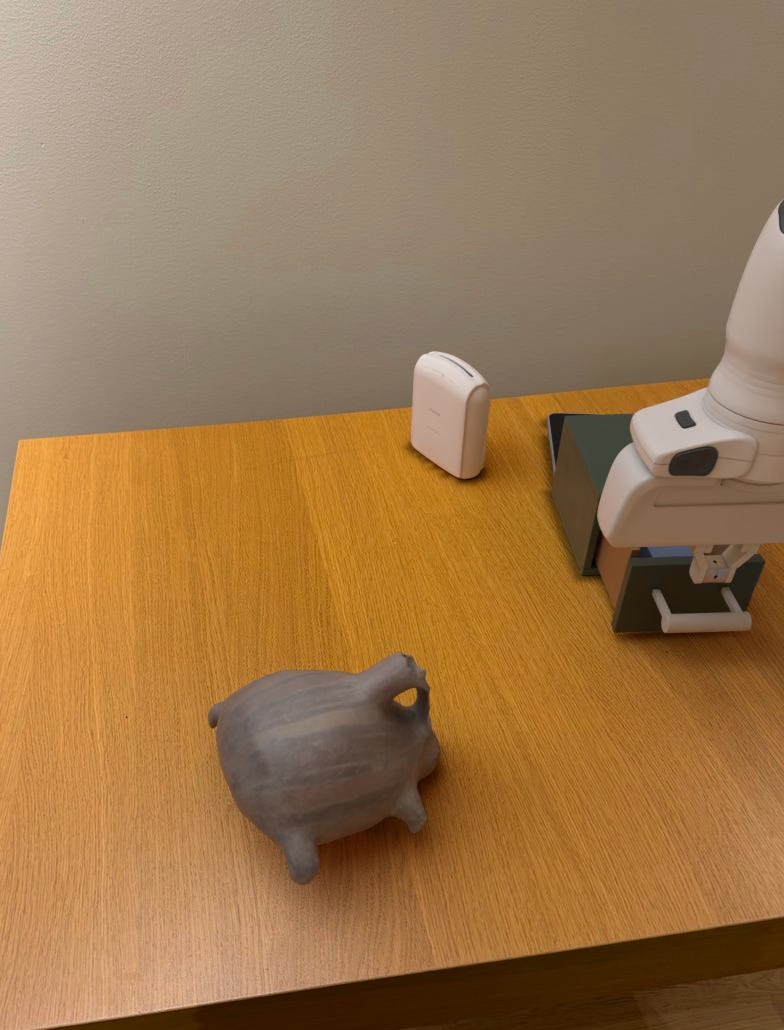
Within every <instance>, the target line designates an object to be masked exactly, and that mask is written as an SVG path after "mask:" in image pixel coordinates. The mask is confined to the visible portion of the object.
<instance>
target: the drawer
mask: <svg viewBox="0 0 784 1030" xmlns="http://www.w3.org/2000/svg"><path fill="white" fill-rule="evenodd" d="M729 546H730V545H714V546H713V549H712V552H711V553H705V552H704V555H721V554H722V553H723V552H724V551H725V550H726V549H727V548H728V547H729ZM639 554H640V547H627V548H615V547H613V546H612V545H611V544H610V543H609V542H608V541H607V539H606V538H605V537H604V535H603V533H602V531H601V529H600V531H599V535H598V540H597V544H596V548H595V552H594V559H595V562H596V565H597V567H598V570H599V572H600V575H599V576H600V577H601V580H602V582H603V584H604V587H605V590H606V592H607V595H608V597H609V599H610V603H611V605H612V608H613V610H614V611H613V615H612V619H611V623H610V626H611V629H612V632H613V633H614V634H618V633H620V634H622V633H624V634H625V633H652V632H653V633H654V632H655V633H656V632H663V633H664V634H682V633H686V634H687V633H713V632H747V631H749V630H751V628H752V625H753V618H752V615H751V613H750V612H749V611H747V610H748V607H749V605H750V602H751V599H752V597H753V594H754V592H755V590H756V587H757V584H758V582H759V580H760V577H761V574H762V572H763V569H764V567H765V564H766V561H765V558H764V557H763V555H762V553H756V554H754V555H753V556H752V557H751V558H750V559H748V560H747V561H746V562H745V563H743V564H742V565H741V566H740V567H739V568H736V571H735V574H734V576H733V579H732V581H731V582H730V583H696V584H695V583H694V582H693V580H692V578H691V576H690V572H689V571H690V566H691V563H692V560H693V556H674V557H644V558H638V557H639Z"/></svg>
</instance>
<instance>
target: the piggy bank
mask: <svg viewBox="0 0 784 1030" xmlns="http://www.w3.org/2000/svg"><path fill="white" fill-rule="evenodd" d="M426 675H427V670H426V669H425V668H423V667H420V666H419V665H418V664H417V662H416V660H415V659H414V656H413V655H412V654H406V653H402V652H401V651H396V652H394V653H392V654H390V655H388V656H387V657H385V658H382V659H381V660H380V661H378V662H376V663H374V664H373V665H372V666H370V667H368V668H366V669H365V670H362V671H360V672H356V673H352V672H347V671H340V670H327V669H286V670H280V671H276V672H275V671H274V672H272V673H269V674H267V675H264V676H262V677H260V678H256V679H254V680H253V681H250V682H249V683H247V684H246V685H244V686H242V687H240V688H239V689H237V690H236V691H234V692H233V693H231V694H230V695H229V696H228V697H227V698H226V699H225V700H223V701H219V702H217V703H216V704H214V705H212V706H211V708H210V709H209V711H208V714H207V722H208V725H209V728H210V729H212V730H214V729H215V728H216V730H215V740H216V741H215V742H216V748H217V754H218V761H219V766H220V769H221V771H222V774H223V778H224V780H225V782H226V785H227V786H228V787H227V788H228V790H229V791H230V794H231V796H232V798H233V801H234V803H235V805H236V807H237V809H238V811H239V812H240V813H241V815H242V816H243V817H244V818H246V819H247V820H248V821H249V822H250V823H251V824H252V825H253V826H254V827H255V828H257V829H258V830H259V831H260V832H261V833H262V834H263V835H264V836H266V837H267V838H268V839H269V840H271V841H272V842H273V843H275V844H276V846H278V847H279V848H280V850H281V851H282V854H283V856H284V859H285V862H286V866H287V869H288V872H289V875H290V879H291V881H292V882H293V883H295V884H298V885H300V886H307V885H310V884H311V883H312V882H313V881H314V880H315V878H317V877H318V876H319V874H320V869H321V867H320V866H321V861H320V857H319V852H318V847H317V845H323V844H328V843H332V842H334V841H337V840H341V839H344V838H345V837H349V836H351V835H355V834H358V833H361V832H363V831H365V830H368V829H371V828H373V827H374V826H375V825H377V824H379V823H381V822H382V821H383V820H384V819H386V818H390V817H393V818H397V819H399V820H400V821H403V822H405V824H406V825H407V828H408V831H409V832H410V833H412V834H414V835H415V834H417V833H418V832H421V830H423V829H424V828H425V827H426V824H427V822H428V814H427V812H426V810H425V808H424V806H423V802H422V799H421V795H420V793H419V790H418V784H419V781H420V780H423V779H425V778H426V777H428V776H430V775H431V774H432V772H433V771H434V770H435V768H436V767H437V765H438V763H439V761H440V760H441V756H442V749H441V748H442V746H441V745H440V742H439V740H438V737H437V736H436V735H437V734H435V732H434V730H433V726H432V724H433V723H432V720H431V715H430V711H431V704H430V702H431V701H430V692H431V687H430V684H429V683H428V682H427V679H426ZM411 689H416V690H415V691H416V698H415V700H414V702H413V703H412V704H411V705H407V706H406V705H403V704H401V703H400V702H398V701H397V700H395V698H396V697H397V696H399V695H401V694H403V693H405V692H407V691H409V690H411Z"/></svg>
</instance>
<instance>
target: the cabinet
mask: <svg viewBox="0 0 784 1030" xmlns="http://www.w3.org/2000/svg"><path fill="white" fill-rule="evenodd" d="M635 413H636V412H633V413H610V414H609V413H608V414H607V413H605V414H603V415H576V416H565V418H564V424H563V429H562V435H561V440H560V446H559V451H558V457H557V462H556V468H555V474H554V473H553V480H552V485H551V490H550V495H551V497H552V500H553V502H554V505H555V508H556V511H557V513H558V516H559V518H560V521H561V524H562V526H563V529H564V532H565V535H566V537H567V540H568V542H569V543H568V544H569V546H570V548H571V552H572V553H573V556H574V559H575V561H576V564H577V567H578V570H579V573H580V575H581V576H601V575H600V572H599V570H598V567H597V565H596V562H595V559H594V552H595V548H596V544H597V540H598V535H599V531H600V526H599V523H598V518H597V512H598V506H599V502H600V498H601V495H602V492H603V488H604V485H605V483H606V480H607V477H608V474H609V472H610V469H611V467H612V464H613V462H614V460H615V459H616V457H617V455H618V454H619V453H620V452H621V450H622V449H623V448H625V447H626V446H627V445H629V444H631V443H632V442H633V439H632V436H631V432H630V423H631V419H632V417H633V415H634V414H635Z"/></svg>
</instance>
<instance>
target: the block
mask: <svg viewBox="0 0 784 1030" xmlns="http://www.w3.org/2000/svg"><path fill="white" fill-rule="evenodd" d="M674 556H693V555H692V553H691V551H690V548H689V546H661V547H640V554H639V557H638V558H644V557H674Z"/></svg>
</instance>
